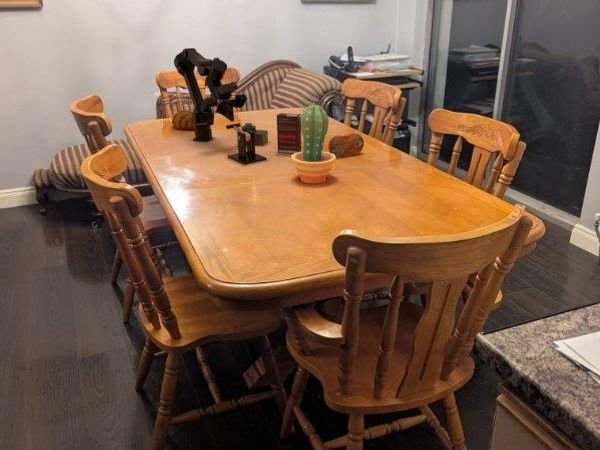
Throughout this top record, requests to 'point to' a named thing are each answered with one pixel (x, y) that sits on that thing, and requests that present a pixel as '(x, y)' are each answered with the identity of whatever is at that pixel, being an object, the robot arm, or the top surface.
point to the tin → (346, 145)
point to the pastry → (182, 120)
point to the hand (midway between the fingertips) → (232, 121)
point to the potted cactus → (313, 146)
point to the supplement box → (288, 133)
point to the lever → (235, 126)
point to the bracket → (249, 155)
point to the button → (248, 125)
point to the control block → (257, 135)
